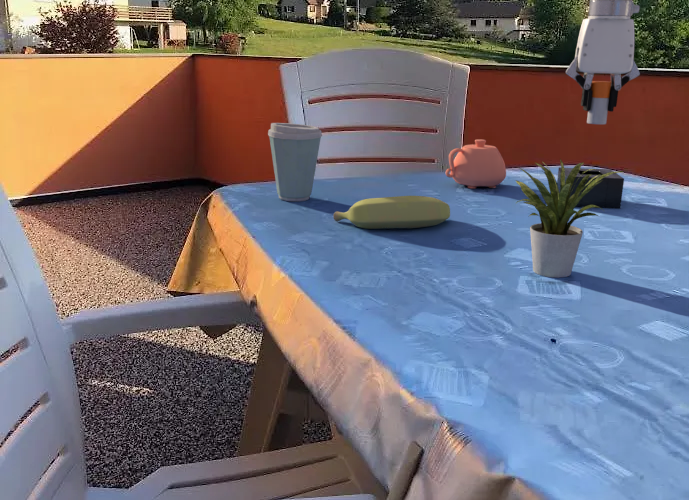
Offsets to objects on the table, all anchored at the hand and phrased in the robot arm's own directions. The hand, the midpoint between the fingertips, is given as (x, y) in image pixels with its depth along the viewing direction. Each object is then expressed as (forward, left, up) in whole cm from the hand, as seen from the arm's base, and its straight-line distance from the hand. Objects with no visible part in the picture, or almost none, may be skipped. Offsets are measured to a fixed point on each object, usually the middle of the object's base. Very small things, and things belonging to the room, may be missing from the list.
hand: (598, 109), depth 138 cm
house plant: (+14, +46, -19) cm, 52 cm away
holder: (0, -2, -19) cm, 19 cm away
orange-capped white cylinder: (0, 0, -3) cm, 3 cm away
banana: (+39, +23, -19) cm, 49 cm away
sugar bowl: (+22, -15, -19) cm, 32 cm away
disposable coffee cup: (+59, +6, -19) cm, 62 cm away
